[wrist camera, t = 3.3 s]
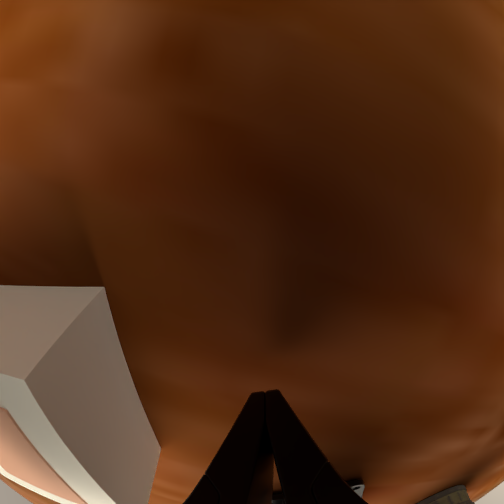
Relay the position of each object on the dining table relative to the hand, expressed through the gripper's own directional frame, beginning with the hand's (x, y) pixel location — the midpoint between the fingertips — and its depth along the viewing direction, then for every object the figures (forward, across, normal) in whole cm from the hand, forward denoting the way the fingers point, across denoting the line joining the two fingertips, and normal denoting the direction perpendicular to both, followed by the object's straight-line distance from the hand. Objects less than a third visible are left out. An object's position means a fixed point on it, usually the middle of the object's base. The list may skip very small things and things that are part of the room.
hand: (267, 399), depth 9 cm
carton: (+2, +10, 0) cm, 10 cm away
